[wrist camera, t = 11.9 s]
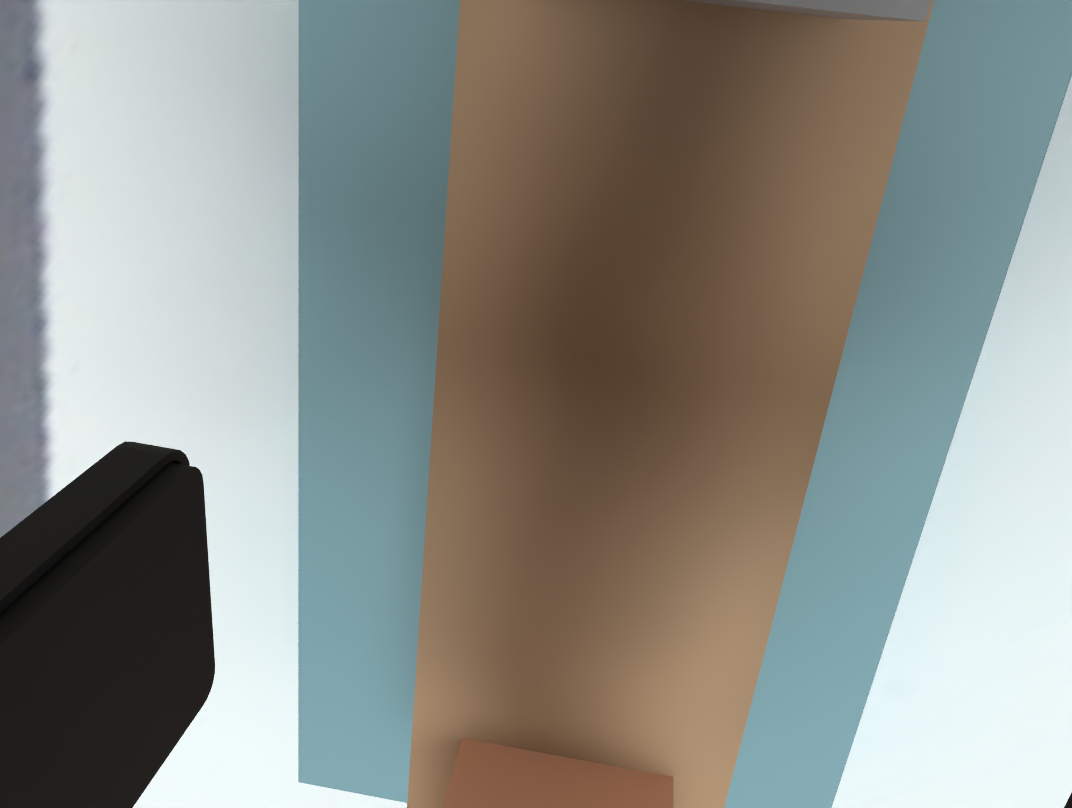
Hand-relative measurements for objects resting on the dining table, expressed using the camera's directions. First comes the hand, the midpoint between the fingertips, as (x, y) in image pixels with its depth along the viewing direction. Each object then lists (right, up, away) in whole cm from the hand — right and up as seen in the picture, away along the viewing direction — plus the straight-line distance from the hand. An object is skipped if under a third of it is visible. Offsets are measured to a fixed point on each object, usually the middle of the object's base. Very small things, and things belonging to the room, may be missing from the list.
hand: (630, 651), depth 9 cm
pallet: (+1, +4, +10) cm, 10 cm away
